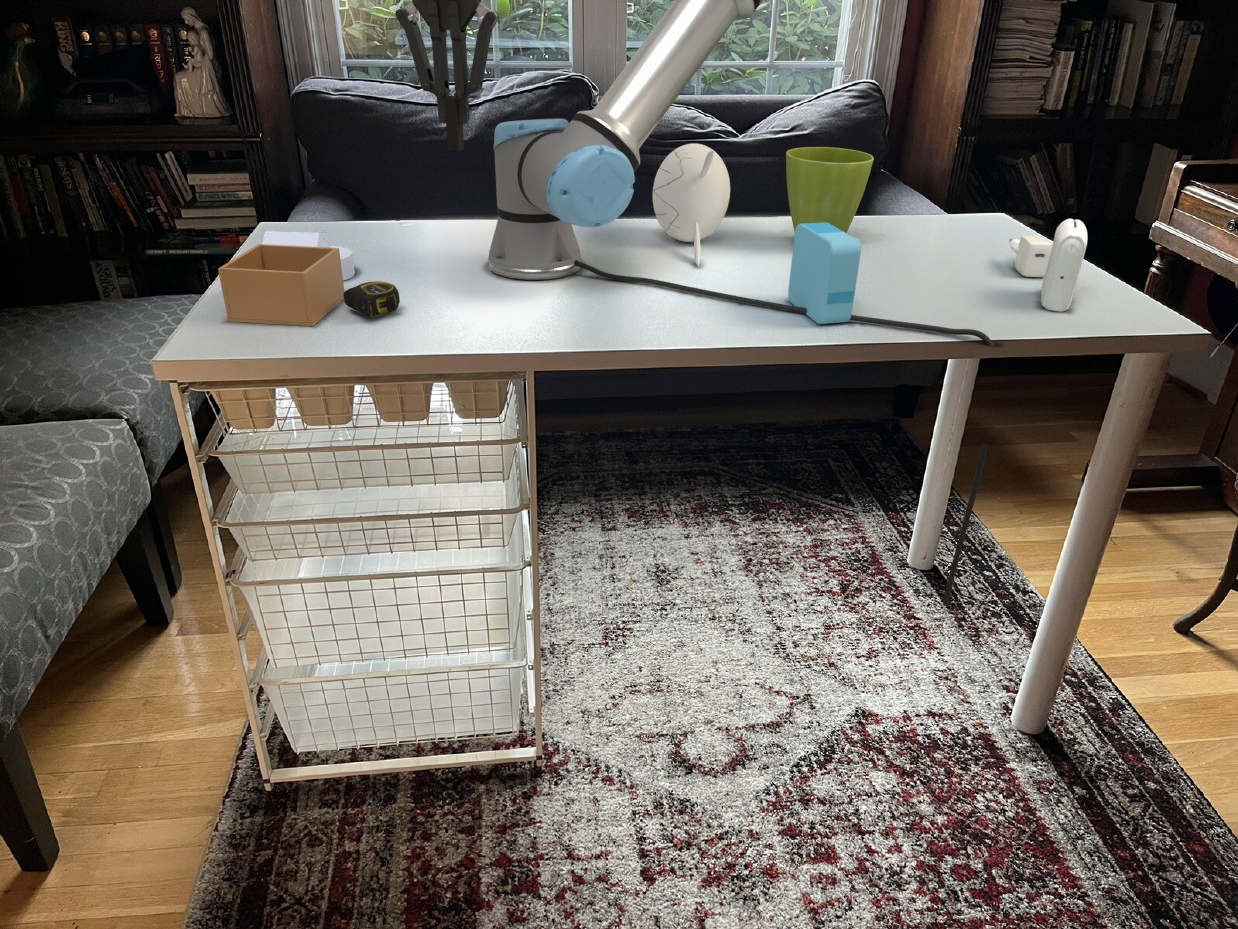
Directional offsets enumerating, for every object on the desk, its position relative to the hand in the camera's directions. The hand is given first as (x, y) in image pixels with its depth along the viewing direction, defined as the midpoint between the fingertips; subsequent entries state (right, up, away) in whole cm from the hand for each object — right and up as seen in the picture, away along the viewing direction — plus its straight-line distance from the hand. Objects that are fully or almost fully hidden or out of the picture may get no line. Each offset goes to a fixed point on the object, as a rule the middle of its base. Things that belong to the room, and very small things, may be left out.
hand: (456, 148), depth 122 cm
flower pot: (+58, -3, +44) cm, 73 cm away
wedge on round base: (-27, -12, +24) cm, 38 cm away
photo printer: (+89, -17, +19) cm, 93 cm away
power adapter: (+91, -9, +34) cm, 97 cm away
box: (-26, -20, +10) cm, 34 cm away
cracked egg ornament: (+35, -3, +42) cm, 55 cm away
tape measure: (-13, -21, +8) cm, 26 cm away
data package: (+51, -20, +13) cm, 56 cm away
